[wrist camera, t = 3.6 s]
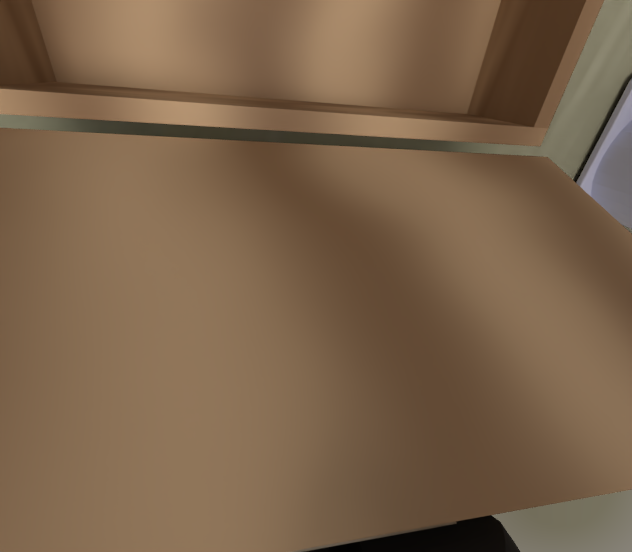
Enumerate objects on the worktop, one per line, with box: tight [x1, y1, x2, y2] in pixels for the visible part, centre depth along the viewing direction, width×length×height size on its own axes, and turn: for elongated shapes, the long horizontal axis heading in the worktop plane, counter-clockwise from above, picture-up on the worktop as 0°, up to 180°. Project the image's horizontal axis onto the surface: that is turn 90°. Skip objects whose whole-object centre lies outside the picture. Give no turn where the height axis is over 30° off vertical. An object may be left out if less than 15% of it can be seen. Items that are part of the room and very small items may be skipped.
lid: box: [0, 128, 632, 552], centre depth 7 cm, size 18×10×1 cm
